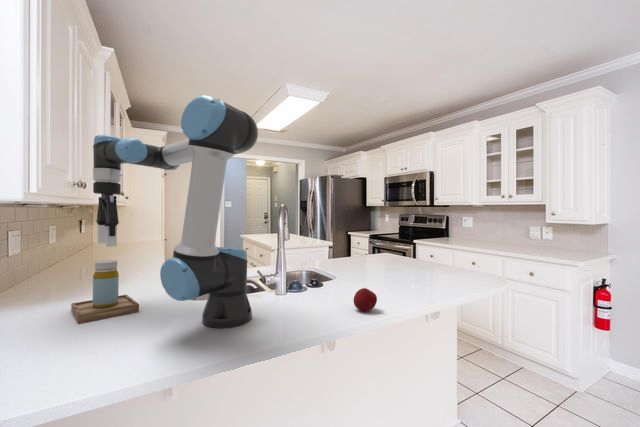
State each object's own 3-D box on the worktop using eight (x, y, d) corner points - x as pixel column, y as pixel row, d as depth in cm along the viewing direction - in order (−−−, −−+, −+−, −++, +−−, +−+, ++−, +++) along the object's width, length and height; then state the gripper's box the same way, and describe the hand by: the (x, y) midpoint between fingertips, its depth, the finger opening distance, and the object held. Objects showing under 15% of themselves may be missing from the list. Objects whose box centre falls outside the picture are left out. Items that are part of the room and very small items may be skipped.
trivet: (138, 311, 100) (139, 304, 100) (78, 324, 88) (78, 315, 88) (126, 301, 111) (126, 294, 111) (71, 311, 99) (71, 303, 99)
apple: (368, 316, 99) (369, 292, 99) (349, 310, 104) (349, 288, 104) (380, 311, 104) (380, 288, 104) (361, 306, 110) (361, 284, 110)
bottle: (123, 302, 102) (123, 260, 102) (106, 309, 95) (107, 263, 95) (104, 301, 103) (105, 259, 103) (87, 308, 96) (87, 262, 96)
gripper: (130, 180, 93) (129, 246, 93) (112, 185, 111) (111, 241, 110) (101, 178, 88) (100, 248, 88) (86, 183, 105) (86, 242, 105)
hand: (106, 244), depth 99 cm, fingers open, 13 cm apart
